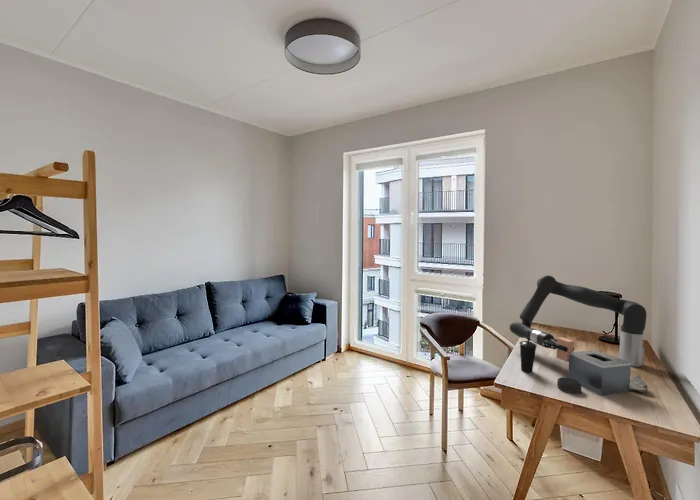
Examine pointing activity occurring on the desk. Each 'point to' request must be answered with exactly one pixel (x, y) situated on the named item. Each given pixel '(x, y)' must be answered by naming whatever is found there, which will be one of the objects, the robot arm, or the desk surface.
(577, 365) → the coin box
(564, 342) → the salmon orange block
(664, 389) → the desk surface
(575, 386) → the smart speaker
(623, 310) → the robot arm
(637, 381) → the rock sample
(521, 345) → the drinking cup
